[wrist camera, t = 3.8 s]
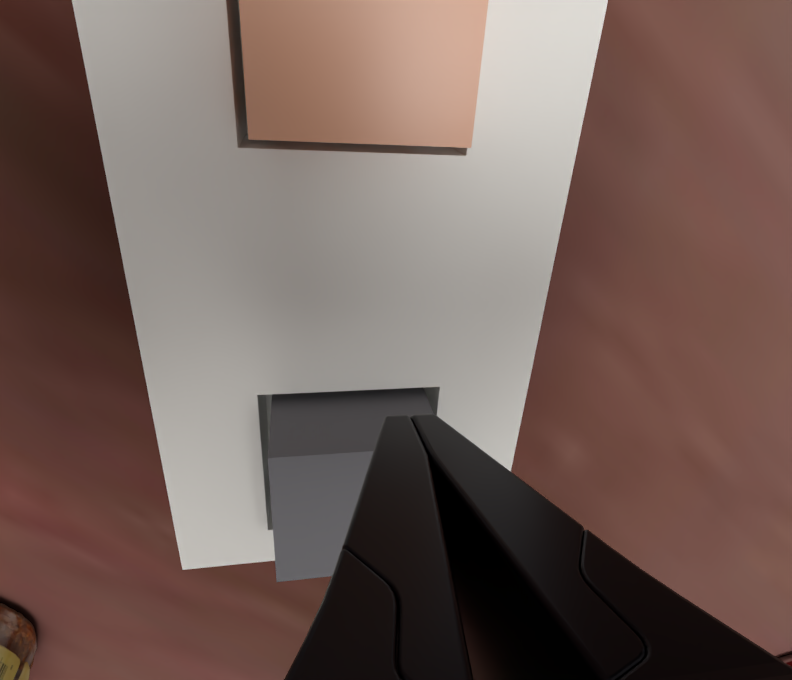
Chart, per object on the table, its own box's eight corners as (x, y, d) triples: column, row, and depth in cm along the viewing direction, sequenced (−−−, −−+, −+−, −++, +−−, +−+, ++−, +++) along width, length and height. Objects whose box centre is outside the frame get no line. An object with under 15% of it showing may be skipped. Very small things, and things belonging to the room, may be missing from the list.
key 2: (412, 495, 20) (430, 565, 17) (279, 506, 19) (276, 581, 16) (422, 385, 18) (446, 446, 15) (272, 392, 17) (267, 458, 14)
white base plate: (471, 477, 24) (496, 537, 21) (198, 499, 22) (182, 569, 19) (573, -153, 14) (651, -213, 11) (82, -226, 12) (8, -326, 9)
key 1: (438, 131, 15) (470, 148, 12) (257, 123, 14) (248, 139, 11) (457, -91, 13) (504, -133, 10) (242, -117, 12) (226, -173, 9)
